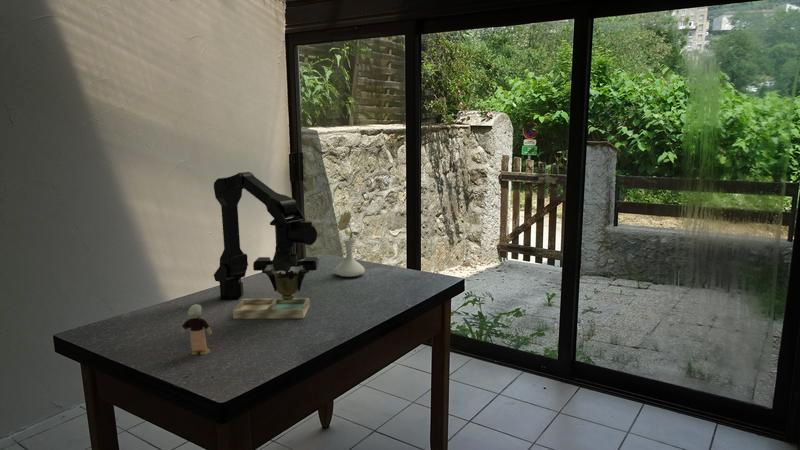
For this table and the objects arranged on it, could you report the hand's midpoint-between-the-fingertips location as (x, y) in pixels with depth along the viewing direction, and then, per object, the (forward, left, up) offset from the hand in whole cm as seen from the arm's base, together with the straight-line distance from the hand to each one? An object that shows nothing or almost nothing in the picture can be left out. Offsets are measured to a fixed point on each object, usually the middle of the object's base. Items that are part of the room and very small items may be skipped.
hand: (287, 291), depth 170 cm
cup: (0, 0, -3) cm, 3 cm away
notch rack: (-5, 0, -7) cm, 8 cm away
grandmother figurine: (-17, -30, -7) cm, 35 cm away
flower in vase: (+15, +40, -7) cm, 43 cm away
